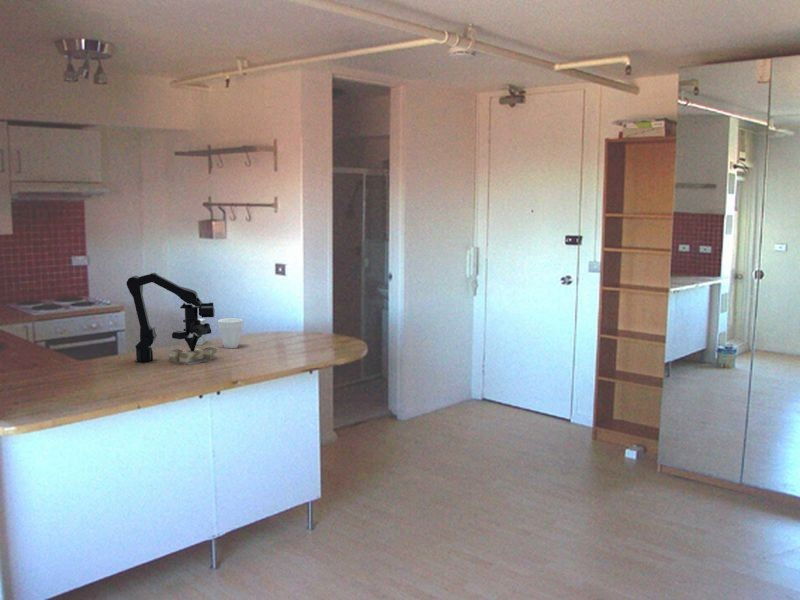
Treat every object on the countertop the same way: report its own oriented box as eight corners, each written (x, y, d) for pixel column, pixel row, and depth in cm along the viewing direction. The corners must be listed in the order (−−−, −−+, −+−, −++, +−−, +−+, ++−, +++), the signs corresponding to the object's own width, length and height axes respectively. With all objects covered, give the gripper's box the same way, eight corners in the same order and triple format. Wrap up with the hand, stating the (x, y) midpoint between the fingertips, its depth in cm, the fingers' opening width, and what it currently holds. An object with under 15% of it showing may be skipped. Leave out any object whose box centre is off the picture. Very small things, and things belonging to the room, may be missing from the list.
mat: (189, 365, 327) (189, 364, 327) (169, 361, 335) (169, 360, 335) (218, 358, 341) (218, 357, 341) (197, 354, 349) (197, 354, 349)
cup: (216, 345, 371) (215, 319, 369) (240, 343, 376) (239, 317, 374) (221, 350, 360) (220, 322, 358) (246, 348, 365) (245, 321, 363)
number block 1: (175, 361, 333) (175, 351, 332) (169, 360, 335) (168, 350, 335) (183, 359, 337) (183, 349, 336) (176, 358, 339) (176, 348, 338)
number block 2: (210, 359, 338) (209, 349, 337) (203, 358, 340) (203, 348, 339) (217, 357, 341) (217, 347, 341) (210, 356, 344) (210, 346, 343)
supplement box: (202, 345, 372) (202, 320, 370) (188, 345, 372) (187, 320, 370) (206, 342, 379) (206, 318, 378) (192, 342, 380) (191, 318, 378)
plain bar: (186, 362, 332) (185, 353, 331) (179, 361, 334) (179, 352, 333) (206, 357, 342) (206, 349, 341) (199, 356, 344) (199, 348, 343)
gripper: (187, 322, 323) (188, 356, 325) (219, 316, 338) (220, 349, 341) (170, 319, 329) (171, 353, 331) (202, 314, 344) (203, 346, 347)
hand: (192, 351), depth 337 cm, fingers closed, pressing on plain bar
